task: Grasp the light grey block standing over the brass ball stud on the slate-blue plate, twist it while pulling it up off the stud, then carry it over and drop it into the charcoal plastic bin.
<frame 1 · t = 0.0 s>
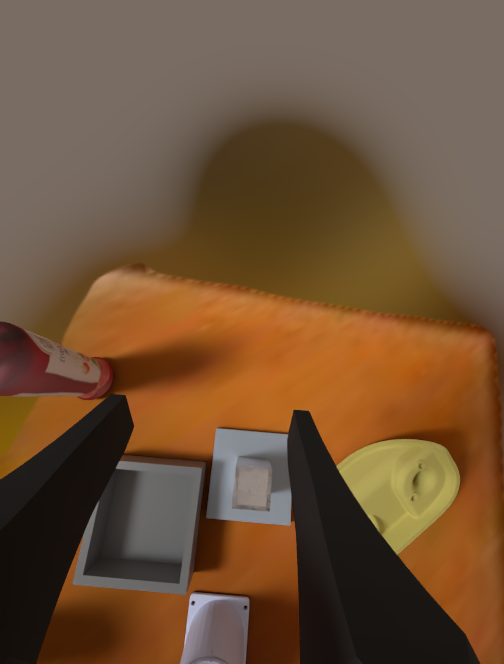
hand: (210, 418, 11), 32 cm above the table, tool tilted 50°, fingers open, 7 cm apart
bin: (153, 510, 38), on the table
plastic component: (374, 493, 40), on the table
light grey block: (251, 474, 39), point 1 cm above the table, touching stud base
liquor: (96, 379, 44), on the table
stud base: (251, 472, 40), on the table
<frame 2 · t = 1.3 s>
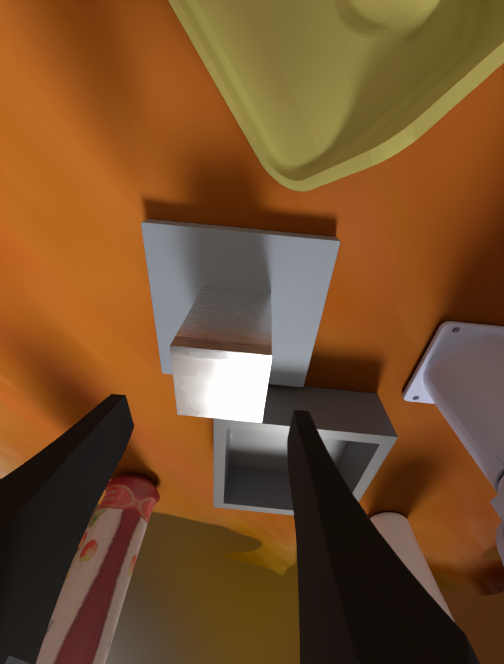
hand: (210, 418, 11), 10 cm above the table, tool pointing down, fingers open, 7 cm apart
bin: (288, 434, 27), on the table
drinking glass: (385, 517, 36), on the table
light grey block: (235, 318, 19), point 1 cm above the table, touching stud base
liquor: (137, 481, 35), on the table
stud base: (237, 311, 20), on the table
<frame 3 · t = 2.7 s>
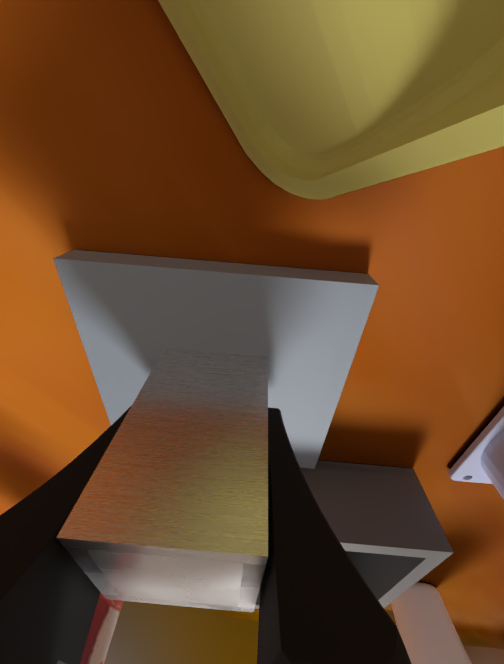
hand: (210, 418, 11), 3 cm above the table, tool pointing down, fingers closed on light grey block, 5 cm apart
bin: (293, 509, 21), on the table
drinking glass: (410, 585, 30), on the table
light grey block: (216, 389, 13), point 1 cm above the table, touching gripper, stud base
liquor: (111, 548, 29), on the table
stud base: (220, 373, 14), on the table
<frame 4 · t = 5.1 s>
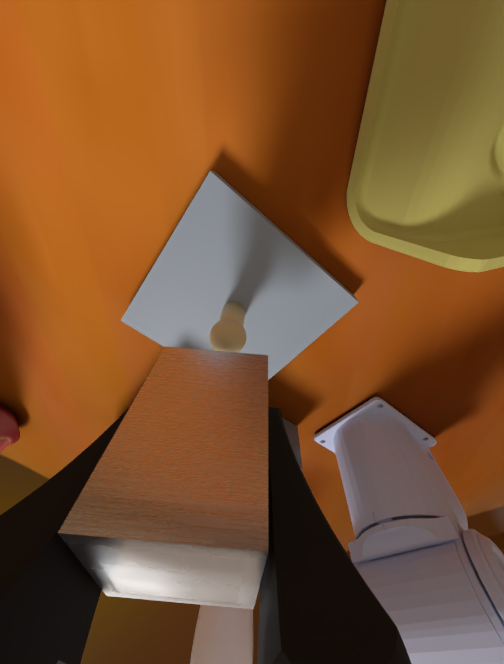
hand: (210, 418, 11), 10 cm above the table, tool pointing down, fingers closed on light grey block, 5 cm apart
bin: (202, 429, 27), on the table
drinking glass: (234, 524, 39), on the table
light grey block: (216, 388, 13), point 8 cm above the table, touching gripper
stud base: (235, 304, 19), on the table
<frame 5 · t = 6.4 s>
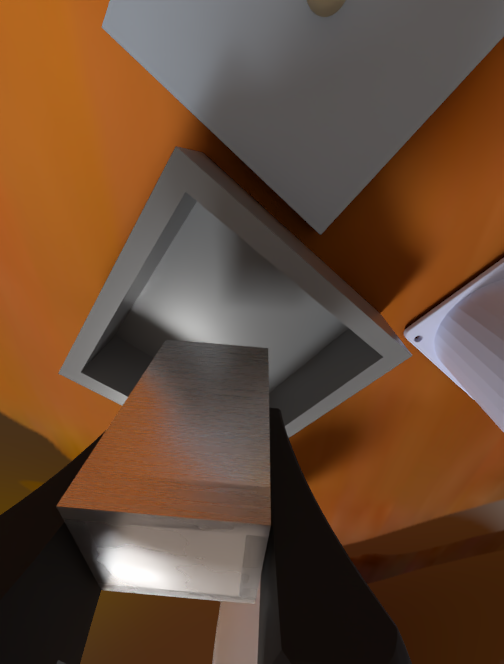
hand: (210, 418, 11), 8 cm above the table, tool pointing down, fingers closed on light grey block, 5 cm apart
bin: (232, 323, 18), on the table
drinking glass: (261, 489, 30), on the table
light grey block: (216, 383, 13), point 6 cm above the table, touching gripper
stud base: (322, 1, 10), on the table
when the fingers open (5 cm above the table, at t = 7.4 s): light grey block drops 2 cm, resting on bin.
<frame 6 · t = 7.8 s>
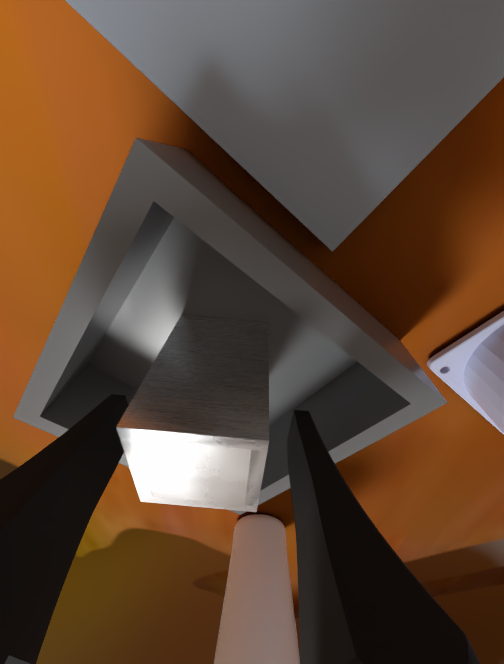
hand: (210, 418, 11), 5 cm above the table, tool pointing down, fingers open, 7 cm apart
bin: (225, 350, 15), on the table
drinking glass: (260, 521, 28), on the table
light grey block: (224, 353, 15), point 1 cm above the table, touching bin
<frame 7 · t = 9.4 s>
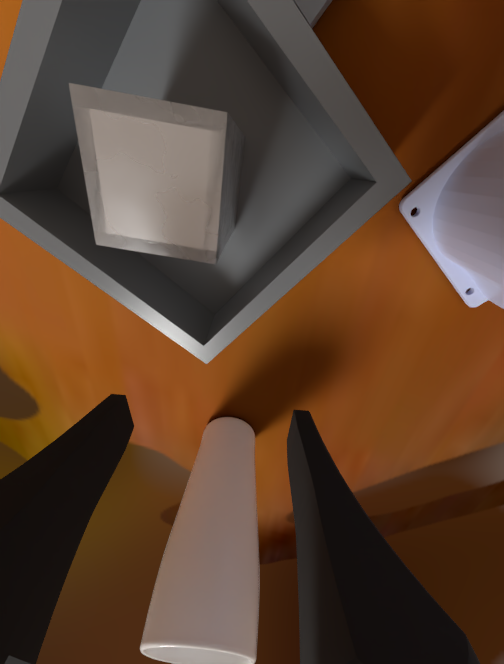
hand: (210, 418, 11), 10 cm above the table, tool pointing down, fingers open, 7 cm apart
bin: (200, 183, 15), on the table
drinking glass: (230, 429, 27), on the table
light grey block: (199, 179, 15), resting on bin
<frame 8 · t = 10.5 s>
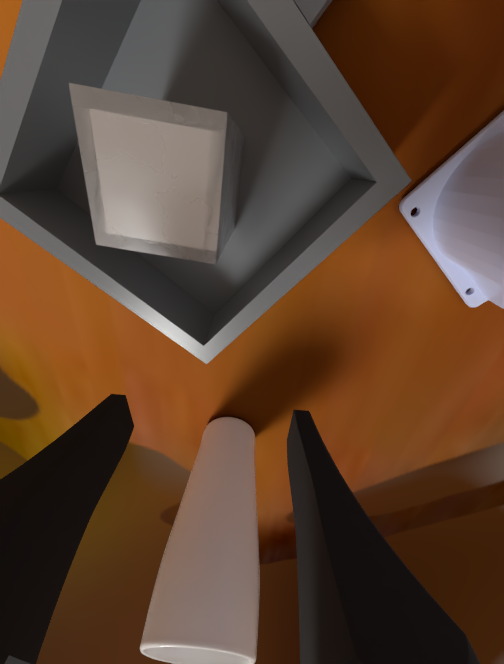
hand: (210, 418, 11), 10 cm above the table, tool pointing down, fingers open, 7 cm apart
bin: (200, 183, 15), on the table
drinking glass: (230, 429, 27), on the table
light grey block: (199, 179, 15), resting on bin
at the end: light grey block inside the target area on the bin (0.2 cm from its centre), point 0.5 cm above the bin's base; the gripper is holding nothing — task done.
